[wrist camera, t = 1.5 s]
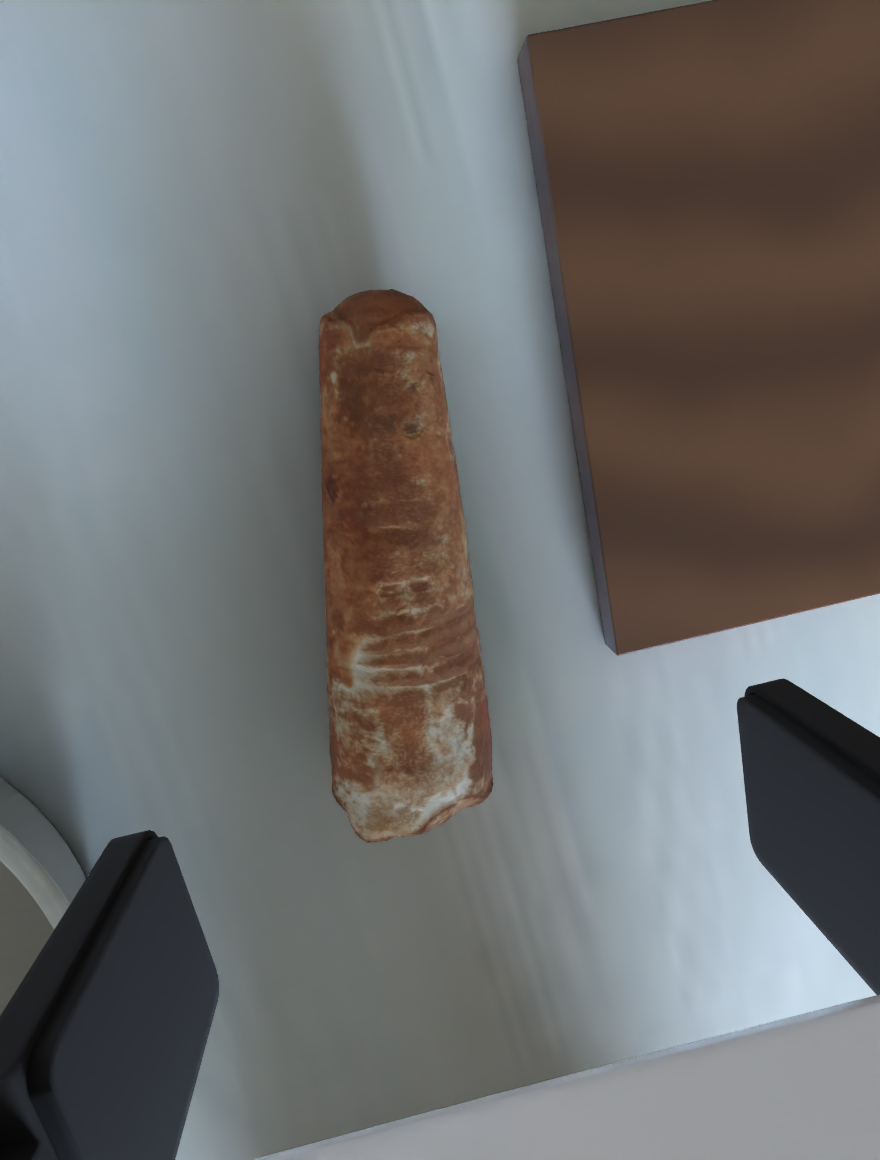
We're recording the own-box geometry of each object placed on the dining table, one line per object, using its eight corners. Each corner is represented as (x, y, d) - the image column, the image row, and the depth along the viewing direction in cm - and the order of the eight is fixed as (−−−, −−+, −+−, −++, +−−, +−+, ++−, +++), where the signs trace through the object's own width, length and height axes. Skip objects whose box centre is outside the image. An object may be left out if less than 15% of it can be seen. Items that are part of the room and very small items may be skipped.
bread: (336, 772, 28) (329, 856, 23) (304, 300, 24) (285, 266, 18) (481, 762, 29) (506, 841, 24) (477, 299, 24) (507, 265, 19)
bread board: (516, 58, 23) (526, 33, 21) (870, -9, 23) (903, -37, 22) (604, 644, 28) (617, 657, 27) (887, 577, 29) (915, 585, 27)
